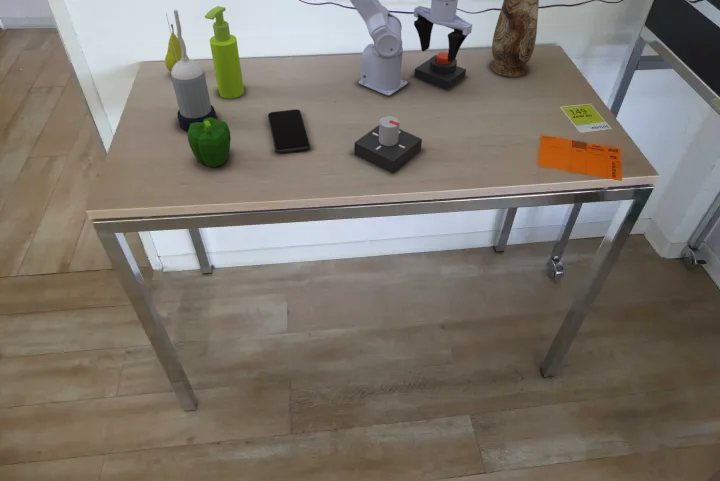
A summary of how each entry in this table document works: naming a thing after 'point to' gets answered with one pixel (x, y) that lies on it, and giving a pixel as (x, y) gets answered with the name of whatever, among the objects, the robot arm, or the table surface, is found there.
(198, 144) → the bell pepper
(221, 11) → the soap dispenser
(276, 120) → the smartphone
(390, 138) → the dial
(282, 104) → the table surface
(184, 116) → the humidifier
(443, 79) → the button block
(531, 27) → the vase
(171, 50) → the fruit
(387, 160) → the dial panel
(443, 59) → the power button
